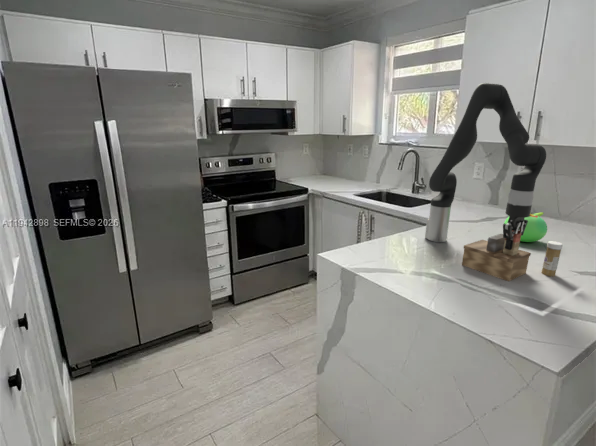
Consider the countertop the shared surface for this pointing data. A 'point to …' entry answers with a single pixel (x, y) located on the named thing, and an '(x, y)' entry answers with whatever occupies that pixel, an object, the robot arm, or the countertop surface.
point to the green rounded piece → (533, 228)
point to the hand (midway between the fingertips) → (511, 247)
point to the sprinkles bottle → (551, 258)
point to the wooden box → (494, 265)
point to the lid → (495, 249)
